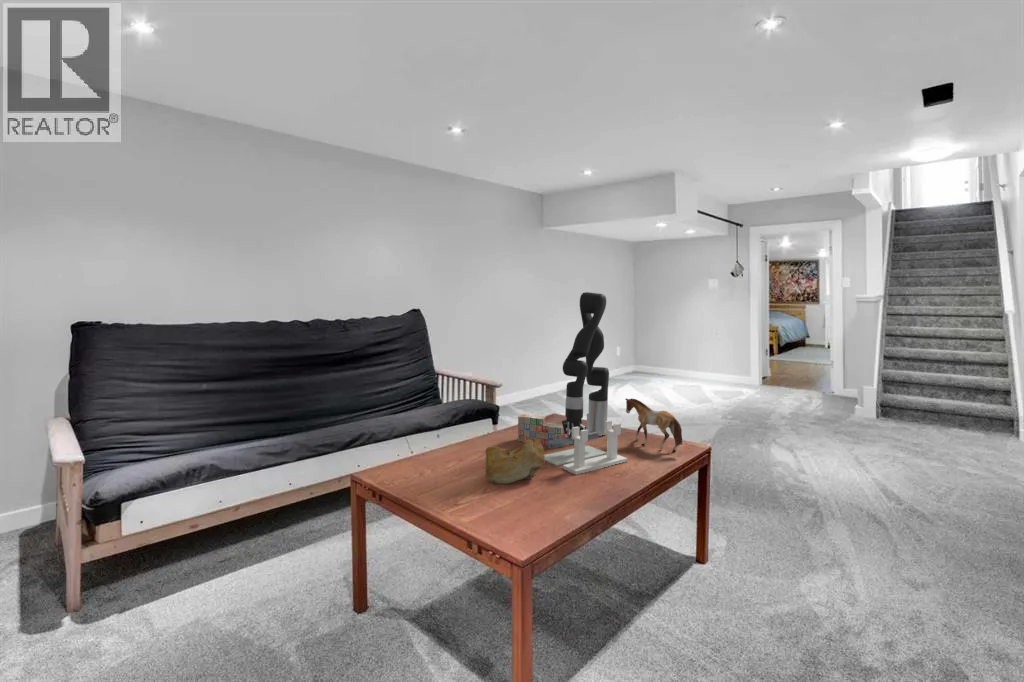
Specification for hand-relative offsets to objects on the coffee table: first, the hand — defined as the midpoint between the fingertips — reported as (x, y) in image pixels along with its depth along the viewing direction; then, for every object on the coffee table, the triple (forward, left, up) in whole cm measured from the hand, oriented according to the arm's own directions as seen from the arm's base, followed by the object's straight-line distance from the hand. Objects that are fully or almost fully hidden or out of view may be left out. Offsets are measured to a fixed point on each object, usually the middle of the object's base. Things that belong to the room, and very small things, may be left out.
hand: (573, 445), depth 221 cm
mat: (0, 0, -4) cm, 4 cm away
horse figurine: (+11, +37, -5) cm, 39 cm away
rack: (+14, 0, -4) cm, 15 cm away
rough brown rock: (+6, -36, -5) cm, 37 cm away
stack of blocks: (-22, 0, -5) cm, 23 cm away
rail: (0, 0, +1) cm, 1 cm away
